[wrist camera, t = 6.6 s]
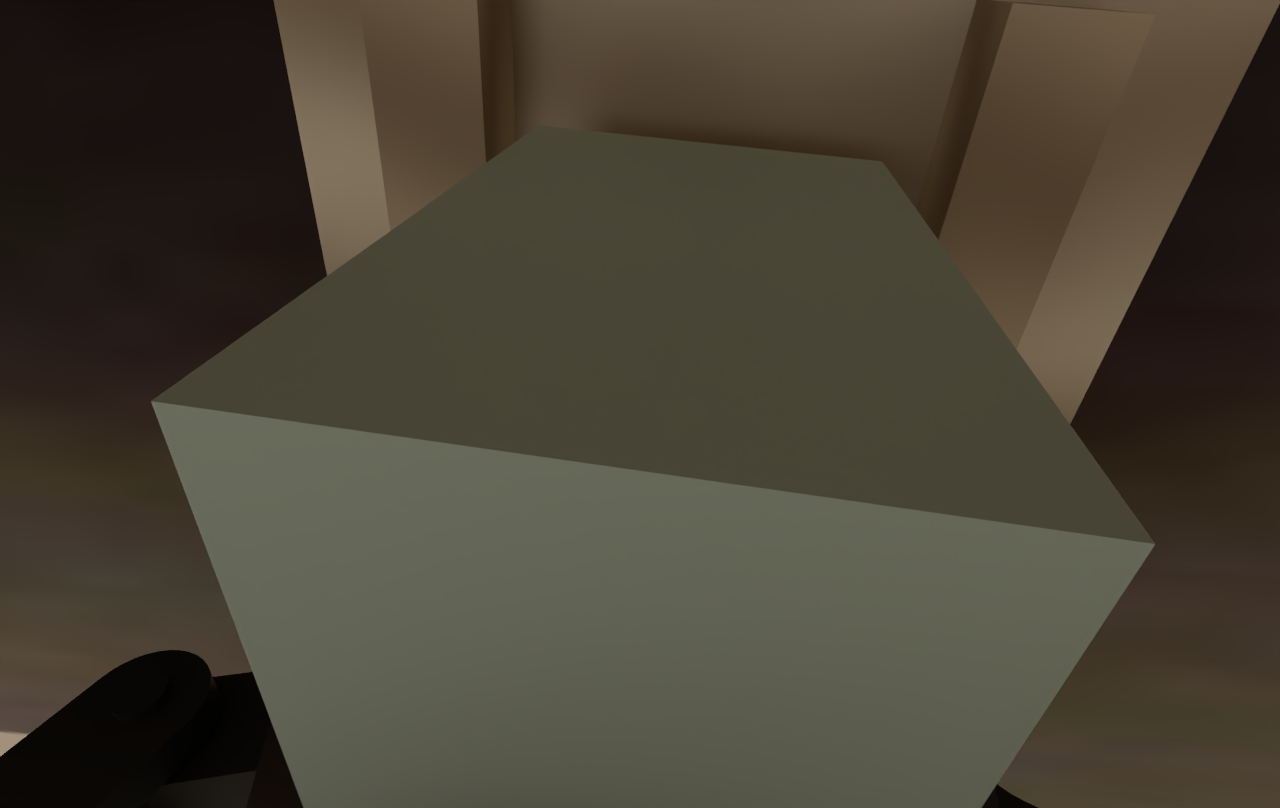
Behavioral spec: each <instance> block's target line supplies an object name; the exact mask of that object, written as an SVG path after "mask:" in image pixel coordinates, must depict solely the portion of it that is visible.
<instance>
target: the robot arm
mask: <svg viewBox="0 0 1280 808" xmlns="http://www.w3.org/2000/svg"><path fill="white" fill-rule="evenodd" d="M0 808H303V805H302V802H301V800H300V797H299V794H298V792H297V789H296V786H295V784H294V781H293V778H292V776H291V773H290V770H289V768H288V765H287V762H286V760H285V757H284V754H283V752H282V749H281V746H280V744H279V741H278V738H277V736H276V733H275V730H274V728H273V725H272V722H271V720H270V717H269V714H268V712H267V709H266V706H265V704H264V701H263V698H262V696H261V693H260V690H259V688H258V685H257V682H256V680H255V677H254V674H253V672H249V673H241V674H233V675H225V676H218V677H212V674H211V672H210V670H209V667H208V665H207V664H206V663H205V661H204V660H203V659H202V658H200V657H199V656H197V655H195V654H193V653H190V652H186V651H180V650H167V651H158V652H154V653H150V654H146V655H143V656H140V657H137V658H135V659H133V660H130V661H128V662H126V663H124V664H122V665H120V666H119V667H117V668H115V669H113V670H112V671H110V672H109V673H107V674H106V675H105V676H103V677H102V678H101V679H99V680H98V681H97V682H95V683H94V684H93V685H92V686H90V687H89V688H88V689H86V690H85V691H84V692H83V693H81V694H80V695H79V696H77V697H76V698H75V699H74V700H72V701H71V702H70V703H68V704H67V705H66V706H65V707H63V708H62V709H61V710H60V711H58V712H57V713H56V714H54V715H53V716H52V717H51V718H49V719H48V720H47V721H45V722H44V723H43V724H42V725H40V726H39V727H38V728H36V729H35V730H34V731H33V732H31V733H30V734H29V735H27V736H26V737H25V738H24V739H22V740H21V741H20V742H19V743H17V744H16V745H15V746H13V747H12V748H11V749H10V750H8V751H7V752H6V753H4V754H3V755H2V756H1V757H0ZM982 808H1038V807H1035V806H1033V805H1031V804H1029V803H1027V802H1025V801H1023V800H1021V799H1019V798H1017V797H1016V796H1014V795H1012V794H1010V793H1009V792H1007V791H1006V790H1004V789H1003V788H1001V787H1000V786H999V785H996V786H995V788H994V789H993V791H992V792H991V794H990V796H989V797H988V799H987V800H986V802H985V803H984V805H983V806H982Z"/></svg>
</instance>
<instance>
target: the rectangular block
mask: <svg viewBox="0 0 1280 808" xmlns="http://www.w3.org/2000/svg"><path fill="white" fill-rule="evenodd" d="M151 403H152V405H153V408H154V411H155V413H156V416H157V419H158V421H159V424H160V427H161V429H162V432H163V435H164V437H165V440H166V443H167V445H168V448H169V451H170V453H171V456H172V459H173V461H174V464H175V467H176V469H177V472H178V475H179V477H180V480H181V483H182V485H183V488H184V491H185V493H186V496H187V499H188V501H189V504H190V507H191V509H192V512H193V515H194V517H195V520H196V523H197V525H198V528H199V531H200V533H201V536H202V539H203V541H204V544H205V547H206V549H207V552H208V555H209V557H210V560H211V563H212V565H213V568H214V571H215V573H216V576H217V579H218V581H219V584H220V586H221V589H222V592H223V594H224V597H225V600H226V602H227V605H228V608H229V610H230V613H231V616H232V618H233V621H234V624H235V626H236V629H237V632H238V634H239V637H240V640H241V642H242V645H243V648H244V650H245V653H246V656H247V658H248V661H249V664H250V666H251V669H252V672H253V674H254V677H255V680H256V682H257V685H258V688H259V690H260V693H261V696H262V698H263V701H264V704H265V706H266V709H267V712H268V714H269V717H270V720H271V722H272V725H273V728H274V730H275V733H276V736H277V738H278V741H279V744H280V746H281V749H282V752H283V754H284V757H285V760H286V762H287V765H288V768H289V770H290V773H291V776H292V778H293V781H294V784H295V786H296V789H297V792H298V794H299V797H300V800H301V802H302V805H303V808H982V806H983V805H984V803H985V802H986V800H987V799H988V797H989V796H990V794H991V792H992V791H993V789H994V788H995V786H996V785H997V783H998V782H999V780H1000V779H1001V777H1002V776H1003V774H1004V773H1005V771H1006V770H1007V768H1008V767H1009V765H1010V764H1011V762H1012V761H1013V759H1014V758H1015V756H1016V755H1017V753H1018V752H1019V750H1020V749H1021V747H1022V746H1023V744H1024V742H1025V741H1026V739H1027V738H1028V736H1029V735H1030V733H1031V732H1032V730H1033V729H1034V727H1035V726H1036V724H1037V723H1038V721H1039V720H1040V718H1041V717H1042V715H1043V714H1044V712H1045V711H1046V709H1047V708H1048V706H1049V705H1050V703H1051V702H1052V700H1053V699H1054V697H1055V696H1056V694H1057V692H1058V691H1059V689H1060V688H1061V686H1062V685H1063V683H1064V682H1065V680H1066V679H1067V677H1068V676H1069V674H1070V673H1071V671H1072V670H1073V668H1074V667H1075V665H1076V664H1077V662H1078V661H1079V659H1080V658H1081V656H1082V655H1083V653H1084V652H1085V650H1086V649H1087V647H1088V646H1089V644H1090V642H1091V641H1092V639H1093V638H1094V636H1095V635H1096V633H1097V632H1098V630H1099V629H1100V627H1101V626H1102V624H1103V623H1104V621H1105V620H1106V618H1107V617H1108V615H1109V614H1110V612H1111V611H1112V609H1113V608H1114V606H1115V605H1116V603H1117V602H1118V600H1119V599H1120V597H1121V596H1122V594H1123V592H1124V591H1125V589H1126V588H1127V586H1128V585H1129V583H1130V582H1131V580H1132V579H1133V577H1134V576H1135V574H1136V573H1137V571H1138V570H1139V568H1140V567H1141V565H1142V564H1143V562H1144V561H1145V559H1146V558H1147V556H1148V555H1149V553H1150V552H1151V550H1152V549H1153V547H1154V546H1155V543H1154V542H1153V540H1152V539H1151V537H1150V536H1149V535H1148V533H1147V532H1146V530H1145V529H1144V528H1143V526H1142V525H1141V523H1140V522H1139V521H1138V519H1137V518H1136V516H1135V515H1134V514H1133V512H1132V511H1131V509H1130V508H1129V506H1128V505H1127V504H1126V502H1125V501H1124V499H1123V498H1122V497H1121V495H1120V494H1119V492H1118V491H1117V490H1116V488H1115V487H1114V485H1113V484H1112V483H1111V481H1110V480H1109V478H1108V477H1107V476H1106V474H1105V473H1104V471H1103V470H1102V469H1101V467H1100V466H1099V464H1098V463H1097V462H1096V460H1095V459H1094V457H1093V456H1092V455H1091V453H1090V452H1089V450H1088V449H1087V448H1086V446H1085V445H1084V443H1083V442H1082V441H1081V439H1080V438H1079V436H1078V435H1077V434H1076V432H1075V431H1074V429H1073V428H1072V427H1071V425H1070V424H1069V422H1068V421H1067V420H1066V418H1065V417H1064V415H1063V414H1062V413H1061V411H1060V410H1059V408H1058V407H1057V406H1056V404H1055V403H1054V401H1053V400H1052V399H1051V397H1050V396H1049V394H1048V393H1047V392H1046V390H1045V389H1044V387H1043V386H1042V385H1041V383H1040V382H1039V380H1038V379H1037V378H1036V376H1035V375H1034V373H1033V372H1032V371H1031V369H1030V368H1029V366H1028V365H1027V364H1026V362H1025V361H1024V359H1023V358H1022V357H1021V355H1020V354H1019V352H1018V351H1017V350H1016V348H1015V347H1014V345H1013V344H1012V343H1011V341H1010V340H1009V338H1008V337H1007V335H1006V334H1005V333H1004V331H1003V330H1002V328H1001V327H1000V326H999V324H998V323H997V321H996V320H995V319H994V317H993V316H992V314H991V313H990V312H989V310H988V309H987V307H986V306H985V305H984V303H983V302H982V300H981V299H980V298H979V296H978V295H977V293H976V292H975V291H974V289H973V288H972V286H971V285H970V284H969V282H968V281H967V279H966V278H965V277H964V275H963V274H962V272H961V271H960V270H959V268H958V267H957V265H956V264H955V263H954V261H953V260H952V258H951V257H950V256H949V254H948V253H947V251H946V250H945V249H944V247H943V246H942V244H941V243H940V242H939V240H938V239H937V237H936V236H935V235H934V233H933V232H932V230H931V229H930V228H929V226H928V225H927V223H926V222H925V221H924V219H923V218H922V216H921V215H920V214H919V212H918V211H917V209H916V208H915V207H914V205H913V204H912V202H911V201H910V200H909V198H908V197H907V195H906V194H905V193H904V191H903V190H902V188H901V187H900V186H899V184H898V183H897V181H896V180H895V179H894V177H893V176H892V174H891V173H890V172H889V170H888V169H887V167H886V166H885V165H884V163H883V162H882V161H874V160H864V159H855V158H845V157H836V156H826V155H817V154H807V153H797V152H788V151H778V150H769V149H759V148H750V147H740V146H731V145H721V144H711V143H702V142H692V141H683V140H673V139H664V138H654V137H645V136H635V135H626V134H616V133H606V132H597V131H587V130H578V129H568V128H559V127H549V126H540V125H539V126H538V127H536V128H535V129H533V130H532V131H530V132H529V133H528V134H526V135H525V136H523V137H522V138H521V139H519V140H518V141H516V142H515V143H514V144H512V145H511V146H509V147H508V148H507V149H505V150H504V151H502V152H501V153H500V154H498V155H497V156H495V157H494V158H492V159H491V160H490V161H488V162H487V163H485V164H484V165H483V166H481V167H480V168H478V169H477V170H476V171H474V172H473V173H471V174H470V175H469V176H467V177H466V178H464V179H463V180H462V181H460V182H459V183H457V184H456V185H455V186H453V187H452V188H450V189H449V190H447V191H446V192H445V193H443V194H442V195H440V196H439V197H438V198H436V199H435V200H433V201H432V202H431V203H429V204H428V205H426V206H425V207H424V208H422V209H421V210H419V211H418V212H417V213H415V214H414V215H412V216H411V217H409V218H408V219H407V220H405V221H404V222H402V223H401V224H400V225H398V226H397V227H395V228H394V229H393V230H391V231H390V232H388V233H387V234H386V235H384V236H383V237H381V238H380V239H379V240H377V241H376V242H374V243H373V244H371V245H370V246H369V247H367V248H366V249H364V250H363V251H362V252H360V253H359V254H357V255H356V256H355V257H353V258H352V259H350V260H349V261H348V262H346V263H345V264H343V265H342V266H341V267H339V268H338V269H336V270H335V271H333V272H332V273H331V274H329V275H328V276H326V277H325V278H324V279H322V280H321V281H319V282H318V283H317V284H315V285H314V286H312V287H311V288H310V289H308V290H307V291H305V292H304V293H303V294H301V295H300V296H298V297H297V298H296V299H294V300H293V301H291V302H290V303H288V304H287V305H286V306H284V307H283V308H281V309H280V310H279V311H277V312H276V313H274V314H273V315H272V316H270V317H269V318H267V319H266V320H265V321H263V322H262V323H260V324H259V325H258V326H256V327H255V328H253V329H252V330H250V331H249V332H248V333H246V334H245V335H243V336H242V337H241V338H239V339H238V340H236V341H235V342H234V343H232V344H231V345H229V346H228V347H227V348H225V349H224V350H222V351H221V352H220V353H218V354H217V355H215V356H214V357H212V358H211V359H210V360H208V361H207V362H205V363H204V364H203V365H201V366H200V367H198V368H197V369H196V370H194V371H193V372H191V373H190V374H189V375H187V376H186V377H184V378H183V379H182V380H180V381H179V382H177V383H176V384H174V385H173V386H172V387H170V388H169V389H167V390H166V391H165V392H163V393H162V394H160V395H159V396H158V397H156V398H155V399H153V400H152V401H151Z"/></svg>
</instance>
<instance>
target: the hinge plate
mask: <svg viewBox="0 0 1280 808" xmlns="http://www.w3.org/2000/svg"><path fill="white" fill-rule="evenodd" d="M1279 4H1280V0H274V5H275V10H276V15H277V20H278V25H279V30H280V36H281V41H282V46H283V51H284V56H285V61H286V67H287V72H288V77H289V82H290V87H291V92H292V97H293V103H294V108H295V113H296V118H297V123H298V128H299V133H300V139H301V144H302V149H303V154H304V159H305V164H306V169H307V175H308V180H309V185H310V190H311V195H312V200H313V206H314V211H315V216H316V221H317V226H318V231H319V236H320V242H321V247H322V252H323V257H324V262H325V267H326V272H327V276H328V275H329V274H331V273H332V272H333V271H335V270H336V269H338V268H339V267H341V266H342V265H343V264H345V263H346V262H348V261H349V260H350V259H352V258H353V257H355V256H356V255H357V254H359V253H360V252H362V251H363V250H364V249H366V248H367V247H369V246H370V245H371V244H373V243H374V242H376V241H377V240H379V239H380V238H381V237H383V236H384V235H386V234H387V233H388V232H390V231H391V230H393V229H394V228H395V227H397V226H398V225H400V224H401V223H402V222H404V221H405V220H407V219H408V218H409V217H411V216H412V215H414V214H415V213H417V212H418V211H419V210H421V209H422V208H424V207H425V206H426V205H428V204H429V203H431V202H432V201H433V200H435V199H436V198H438V197H439V196H440V195H442V194H443V193H445V192H446V191H447V190H449V189H450V188H452V187H453V186H455V185H456V184H457V183H459V182H460V181H462V180H463V179H464V178H466V177H467V176H469V175H470V174H471V173H473V172H474V171H476V170H477V169H478V168H480V167H481V166H483V165H484V164H485V163H487V162H488V161H490V160H491V159H492V158H494V157H495V156H497V155H498V154H500V153H501V152H502V151H504V150H505V149H507V148H508V147H509V146H511V145H512V144H514V143H515V142H516V141H518V140H519V139H521V138H522V137H523V136H525V135H526V134H528V133H529V132H530V131H532V130H533V129H535V128H536V127H538V126H539V125H540V126H549V127H559V128H568V129H578V130H587V131H597V132H606V133H616V134H626V135H635V136H645V137H654V138H664V139H673V140H683V141H692V142H702V143H711V144H721V145H731V146H740V147H750V148H759V149H769V150H778V151H788V152H797V153H807V154H817V155H826V156H836V157H845V158H855V159H864V160H874V161H882V162H883V163H884V165H885V166H886V167H887V169H888V170H889V172H890V173H891V174H892V176H893V177H894V179H895V180H896V181H897V183H898V184H899V186H900V187H901V188H902V190H903V191H904V193H905V194H906V195H907V197H908V198H909V200H910V201H911V202H912V204H913V205H914V207H915V208H916V209H917V211H918V212H919V214H920V215H921V216H922V218H923V219H924V221H925V222H926V223H927V225H928V226H929V228H930V229H931V230H932V232H933V233H934V235H935V236H936V237H937V239H938V240H939V242H940V243H941V244H942V246H943V247H944V249H945V250H946V251H947V253H948V254H949V256H950V257H951V258H952V260H953V261H954V263H955V264H956V265H957V267H958V268H959V270H960V271H961V272H962V274H963V275H964V277H965V278H966V279H967V281H968V282H969V284H970V285H971V286H972V288H973V289H974V291H975V292H976V293H977V295H978V296H979V298H980V299H981V300H982V302H983V303H984V305H985V306H986V307H987V309H988V310H989V312H990V313H991V314H992V316H993V317H994V319H995V320H996V321H997V323H998V324H999V326H1000V327H1001V328H1002V330H1003V331H1004V333H1005V334H1006V335H1007V337H1008V338H1009V340H1010V341H1011V343H1012V344H1013V345H1014V347H1015V348H1016V350H1017V351H1018V352H1019V354H1020V355H1021V357H1022V358H1023V359H1024V361H1025V362H1026V364H1027V365H1028V366H1029V368H1030V369H1031V371H1032V372H1033V373H1034V375H1035V376H1036V378H1037V379H1038V380H1039V382H1040V383H1041V385H1042V386H1043V387H1044V389H1045V390H1046V392H1047V393H1048V394H1049V396H1050V397H1051V399H1052V400H1053V401H1054V403H1055V404H1056V406H1057V407H1058V408H1059V410H1060V411H1061V413H1062V414H1063V415H1064V417H1065V418H1066V420H1067V421H1068V422H1069V424H1071V422H1072V420H1073V417H1074V415H1075V413H1076V411H1077V409H1078V407H1079V405H1080V403H1081V401H1082V399H1083V397H1084V395H1085V393H1086V391H1087V389H1088V387H1089V385H1090V383H1091V381H1092V379H1093V377H1094V375H1095V373H1096V371H1097V369H1098V367H1099V365H1100V363H1101V361H1102V359H1103V357H1104V355H1105V353H1106V351H1107V349H1108V347H1109V345H1110V343H1111V341H1112V339H1113V337H1114V335H1115V333H1116V331H1117V329H1118V327H1119V325H1120V323H1121V321H1122V319H1123V317H1124V315H1125V313H1126V311H1127V309H1128V307H1129V305H1130V303H1131V301H1132V299H1133V297H1134V295H1135V293H1136V291H1137V289H1138V287H1139V285H1140V283H1141V281H1142V279H1143V277H1144V275H1145V273H1146V271H1147V269H1148V267H1149V265H1150V263H1151V261H1152V259H1153V257H1154V255H1155V253H1156V251H1157V249H1158V247H1159V245H1160V243H1161V241H1162V239H1163V237H1164V235H1165V233H1166V231H1167V229H1168V227H1169V225H1170V223H1171V221H1172V219H1173V217H1174V215H1175V213H1176V211H1177V209H1178V207H1179V205H1180V203H1181V201H1182V199H1183V197H1184V195H1185V193H1186V191H1187V189H1188V187H1189V185H1190V183H1191V181H1192V179H1193V177H1194V175H1195V173H1196V171H1197V169H1198V167H1199V165H1200V163H1201V161H1202V159H1203V157H1204V155H1205V152H1206V150H1207V148H1208V146H1209V144H1210V142H1211V140H1212V138H1213V136H1214V134H1215V132H1216V130H1217V128H1218V126H1219V124H1220V122H1221V120H1222V118H1223V116H1224V114H1225V112H1226V110H1227V108H1228V106H1229V104H1230V102H1231V100H1232V98H1233V96H1234V94H1235V92H1236V90H1237V88H1238V86H1239V84H1240V82H1241V80H1242V78H1243V76H1244V74H1245V72H1246V70H1247V68H1248V66H1249V64H1250V62H1251V60H1252V58H1253V56H1254V54H1255V52H1256V50H1257V48H1258V46H1259V44H1260V42H1261V40H1262V38H1263V36H1264V34H1265V32H1266V30H1267V28H1268V26H1269V24H1270V22H1271V20H1272V18H1273V16H1274V14H1275V12H1276V10H1277V8H1278V6H1279Z"/></svg>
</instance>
